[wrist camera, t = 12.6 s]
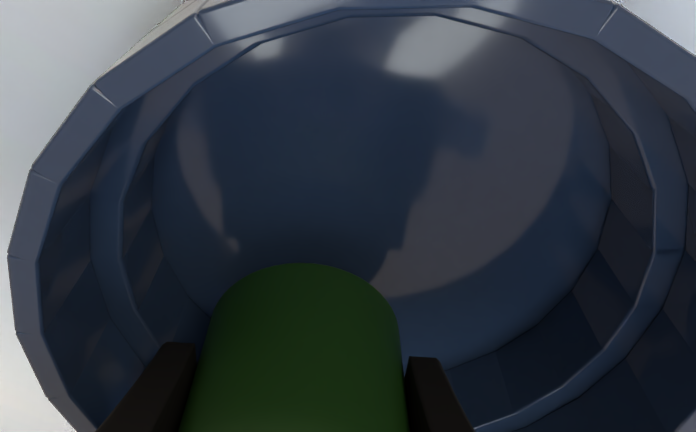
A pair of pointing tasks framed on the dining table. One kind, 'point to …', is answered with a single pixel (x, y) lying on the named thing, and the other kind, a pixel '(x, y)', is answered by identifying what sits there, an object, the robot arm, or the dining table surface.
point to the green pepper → (299, 357)
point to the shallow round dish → (383, 199)
